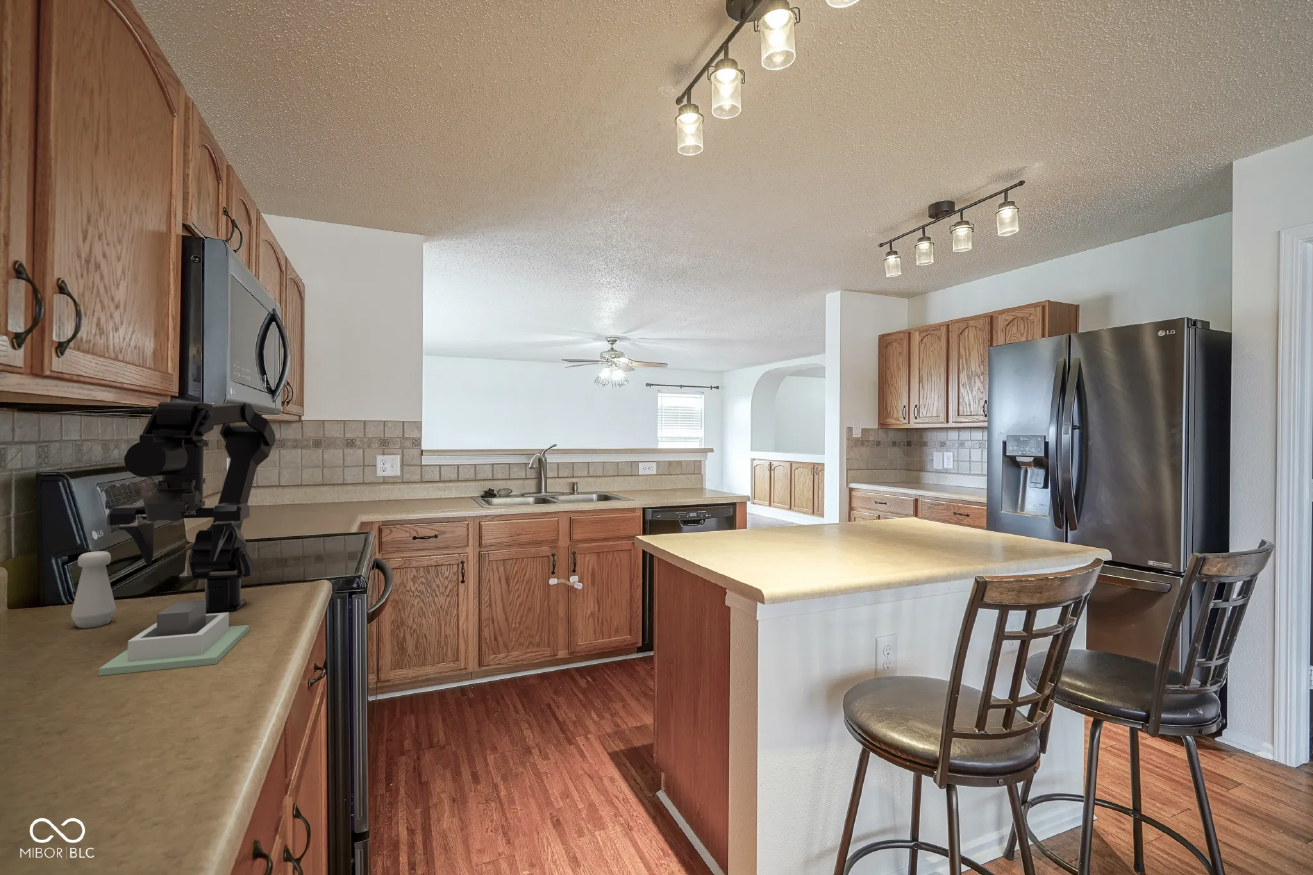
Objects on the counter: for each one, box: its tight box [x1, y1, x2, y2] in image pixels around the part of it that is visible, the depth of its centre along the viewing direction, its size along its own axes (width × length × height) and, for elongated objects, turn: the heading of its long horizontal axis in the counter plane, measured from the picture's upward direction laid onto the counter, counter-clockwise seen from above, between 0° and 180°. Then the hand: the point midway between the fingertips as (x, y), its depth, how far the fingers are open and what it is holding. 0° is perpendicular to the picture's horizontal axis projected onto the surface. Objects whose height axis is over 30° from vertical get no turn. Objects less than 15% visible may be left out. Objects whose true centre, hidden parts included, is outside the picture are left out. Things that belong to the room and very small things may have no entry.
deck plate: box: [98, 611, 250, 677], centre depth 93 cm, size 16×14×4 cm
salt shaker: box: [70, 550, 117, 629], centre depth 105 cm, size 6×6×13 cm
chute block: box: [156, 599, 207, 637], centre depth 93 cm, size 7×4×6 cm, turn 20°
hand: (181, 562), depth 102 cm, fingers open, 9 cm apart
